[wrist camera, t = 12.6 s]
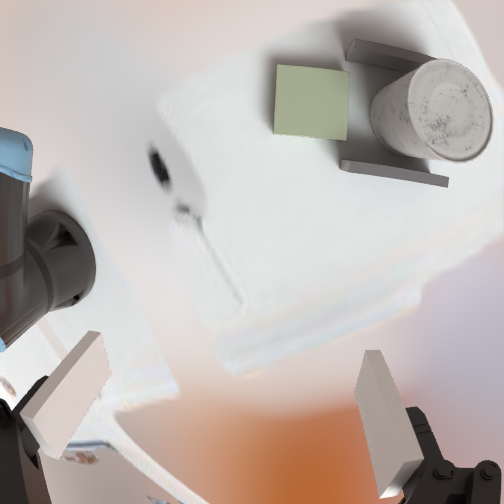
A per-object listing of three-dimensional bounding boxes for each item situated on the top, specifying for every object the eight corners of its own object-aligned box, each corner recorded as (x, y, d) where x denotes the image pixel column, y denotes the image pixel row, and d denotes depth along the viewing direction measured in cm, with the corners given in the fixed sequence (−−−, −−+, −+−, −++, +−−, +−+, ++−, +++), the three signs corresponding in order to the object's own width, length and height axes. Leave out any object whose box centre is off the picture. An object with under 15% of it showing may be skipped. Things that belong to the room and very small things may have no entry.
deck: (274, 134, 35) (273, 133, 33) (277, 70, 32) (277, 64, 30) (342, 141, 34) (346, 140, 32) (345, 76, 32) (349, 72, 29)
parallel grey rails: (340, 169, 35) (348, 172, 31) (345, 51, 31) (354, 38, 26) (429, 182, 35) (447, 187, 30) (434, 71, 30) (452, 63, 25)
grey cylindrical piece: (360, 86, 32) (394, 60, 20) (428, 79, 30) (479, 59, 19) (379, 162, 35) (420, 170, 23) (444, 152, 33) (500, 157, 21)
